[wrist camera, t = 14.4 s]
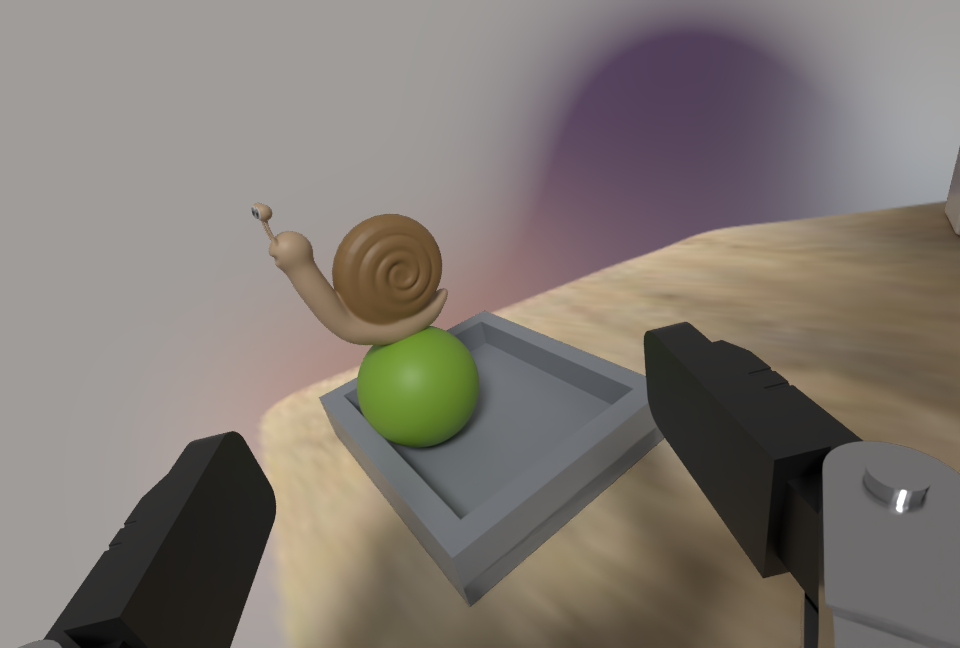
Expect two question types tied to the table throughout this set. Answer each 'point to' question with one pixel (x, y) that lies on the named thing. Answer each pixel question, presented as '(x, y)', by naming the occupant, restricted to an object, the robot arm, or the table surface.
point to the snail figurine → (388, 324)
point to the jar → (954, 198)
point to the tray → (507, 451)
